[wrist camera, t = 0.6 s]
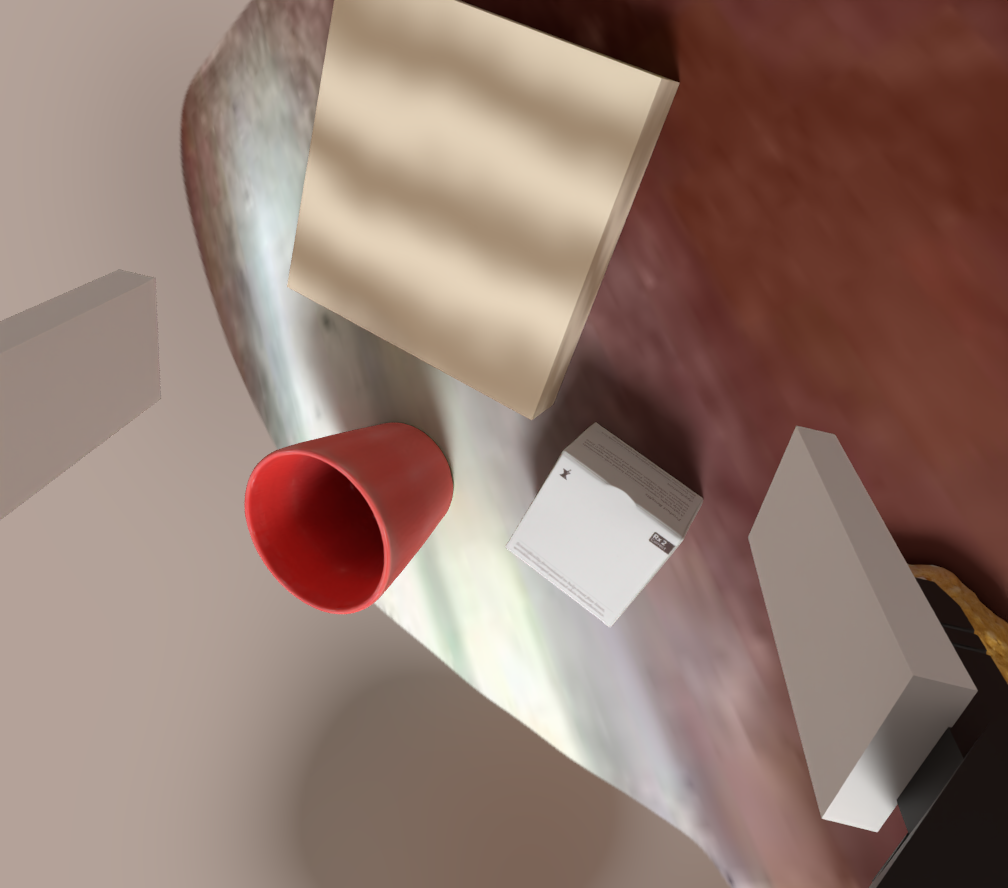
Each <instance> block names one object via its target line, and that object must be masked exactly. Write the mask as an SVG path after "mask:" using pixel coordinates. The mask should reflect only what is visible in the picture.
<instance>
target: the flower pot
mask: <svg viewBox="0 0 1008 888" xmlns="http://www.w3.org/2000/svg"><path fill="white" fill-rule="evenodd" d="M452 496H453V481H452V476H451V472H450V467H449V465H448V462H447V460H446V458H445V456H444V454H443V453H442V451H441V450H440V448H439V447H438V446H437V444H436V443H435V442H434V441H433V440H432V439H431V438H430V437H429V436H427V435H426V434H425V433H424V432H422V431H421V430H419V429H417V428H415V427H413V426H410V425H407V424H404V423H384V424H380V425H375V426H371V427H366V428H361V429H357V430H352V431H348V432H343V433H339V434H335V435H331V436H327V437H322V438H318V439H314V440H310V441H306V442H302V443H298V444H295V445H291V446H288V447H284V448H282V449H279V450H276V451H274V452H272V453H270V454H269V455H267V456H266V457H264V458H263V459H262V460H261V461H260V462H259V463H258V464H257V465H256V467H255V468H254V470H253V472H252V474H251V475H250V478H249V480H248V484H247V488H246V493H245V517H246V521H247V526H248V529H249V532H250V535H251V538H252V541H253V543H254V545H255V548H256V550H257V552H258V554H259V555H260V557H261V558H262V560H263V562H264V564H265V565H266V566H267V568H268V569H269V571H270V572H271V573H272V575H273V576H274V577H275V578H276V579H277V580H278V582H279V583H280V584H281V585H282V586H284V587H285V588H286V589H287V590H288V591H289V592H290V593H291V594H293V595H294V596H295V597H297V598H298V599H300V600H301V601H303V602H304V603H306V604H308V605H310V606H312V607H314V608H316V609H319V610H321V611H324V612H328V613H334V614H350V613H354V612H358V611H361V610H363V609H365V608H367V607H369V606H370V605H372V604H373V603H374V602H376V601H377V600H378V599H379V598H380V597H381V595H382V594H383V593H384V592H385V591H386V590H387V588H388V587H389V586H390V585H391V584H392V583H393V581H394V580H395V579H396V578H397V577H398V575H399V574H400V573H401V572H402V570H403V569H404V568H405V567H406V566H407V564H408V563H409V562H410V560H411V559H412V558H413V557H414V556H415V554H416V553H417V552H418V550H419V549H420V548H421V547H422V545H423V544H424V543H425V541H426V540H427V539H428V537H429V536H430V535H431V533H432V532H433V531H434V529H435V528H436V526H437V525H438V523H439V522H440V521H441V519H442V518H443V517H444V516H445V514H446V513H447V511H448V509H449V506H450V504H451V501H452Z"/></svg>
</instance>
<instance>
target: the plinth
mask: <svg viewBox="0 0 1008 888" xmlns="http://www.w3.org/2000/svg"><path fill="white" fill-rule="evenodd" d="M678 86H679V82H676V81H673V80H671V79H668V78H666V77H663V76H660V75H658V74H655V73H652V72H650V71H647V70H644V69H642V68H639V67H636V66H634V65H631V64H628V63H626V62H623V61H620V60H618V59H615V58H612V57H610V56H607V55H604V54H602V53H599V52H596V51H594V50H591V49H588V48H586V47H583V46H580V45H578V44H575V43H572V42H570V41H567V40H564V39H562V38H559V37H556V36H554V35H551V34H548V33H546V32H543V31H540V30H538V29H535V28H532V27H530V26H527V25H524V24H522V23H519V22H516V21H514V20H511V19H508V18H506V17H503V16H500V15H498V14H495V13H492V12H490V11H487V10H484V9H482V8H479V7H476V6H474V5H471V4H468V3H466V2H463V1H461V0H334V5H333V12H332V18H331V24H330V30H329V36H328V42H327V48H326V54H325V60H324V66H323V72H322V78H321V84H320V90H319V96H318V103H317V109H316V115H315V121H314V127H313V133H312V139H311V145H310V151H309V157H308V163H307V169H306V175H305V181H304V187H303V194H302V200H301V206H300V212H299V218H298V224H297V230H296V236H295V242H294V248H293V254H292V260H291V266H290V272H289V278H288V285H287V287H289V288H290V289H292V290H294V291H296V292H298V293H300V294H301V295H303V296H305V297H307V298H309V299H311V300H312V301H314V302H316V303H318V304H320V305H322V306H323V307H325V308H327V309H329V310H331V311H333V312H334V313H336V314H338V315H340V316H342V317H343V318H345V319H347V320H349V321H351V322H353V323H354V324H356V325H358V326H360V327H362V328H364V329H365V330H367V331H369V332H371V333H373V334H375V335H376V336H378V337H380V338H382V339H384V340H386V341H387V342H389V343H391V344H393V345H395V346H397V347H398V348H400V349H402V350H404V351H406V352H408V353H409V354H411V355H413V356H415V357H417V358H419V359H420V360H422V361H424V362H426V363H428V364H430V365H431V366H433V367H435V368H437V369H439V370H441V371H442V372H444V373H446V374H448V375H450V376H452V377H453V378H455V379H457V380H459V381H461V382H463V383H464V384H466V385H468V386H470V387H472V388H473V389H475V390H477V391H479V392H481V393H483V394H484V395H486V396H488V397H490V398H492V399H494V400H495V401H497V402H499V403H501V404H503V405H505V406H506V407H508V408H510V409H512V410H514V411H516V412H517V413H519V414H521V415H523V416H525V417H527V418H528V419H530V420H533V419H534V418H536V417H537V416H538V415H540V414H541V413H542V412H544V411H545V410H547V409H548V408H549V407H551V406H552V405H553V404H554V402H555V399H556V397H557V394H558V391H559V389H560V386H561V384H562V381H563V379H564V376H565V374H566V371H567V368H568V366H569V363H570V361H571V358H572V356H573V353H574V351H575V348H576V346H577V343H578V340H579V338H580V335H581V333H582V330H583V328H584V325H585V323H586V320H587V318H588V315H589V312H590V310H591V307H592V305H593V302H594V300H595V297H596V295H597V292H598V290H599V287H600V284H601V282H602V279H603V277H604V274H605V272H606V269H607V267H608V264H609V262H610V259H611V256H612V254H613V251H614V249H615V246H616V244H617V241H618V239H619V236H620V234H621V231H622V228H623V226H624V223H625V221H626V218H627V216H628V213H629V211H630V208H631V205H632V203H633V200H634V198H635V195H636V193H637V190H638V188H639V185H640V183H641V180H642V177H643V175H644V172H645V170H646V167H647V165H648V162H649V160H650V157H651V155H652V152H653V149H654V147H655V144H656V142H657V139H658V137H659V134H660V132H661V129H662V127H663V124H664V121H665V119H666V116H667V114H668V111H669V109H670V106H671V104H672V101H673V99H674V96H675V93H676V91H677V88H678Z"/></svg>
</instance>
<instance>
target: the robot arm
mask: <svg viewBox="0 0 1008 888" xmlns="http://www.w3.org/2000/svg"><path fill="white" fill-rule="evenodd" d="M159 369H160V368H159V346H158V323H157V302H156V279H155V278H154V277H150V276H145V275H141V274H136V273H132V272H128V271H123V270H117V271H115V272H112V273H110V274H108V275H105V276H103V277H101V278H98V279H96V280H94V281H92V282H89V283H87V284H85V285H83V286H80V287H78V288H76V289H73V290H71V291H69V292H66V293H64V294H62V295H60V296H57V297H55V298H53V299H50V300H48V301H46V302H43V303H41V304H39V305H37V306H34V307H32V308H30V309H28V310H25V311H23V312H21V313H18V314H16V315H14V316H11V317H9V318H7V319H4V320H2V321H0V520H1V519H3V518H4V517H5V516H6V515H8V514H9V513H10V512H12V511H13V510H14V509H16V508H17V507H18V506H20V505H21V504H22V503H24V502H25V501H26V500H28V499H29V498H30V497H32V496H33V495H34V494H35V493H37V492H38V491H40V490H41V489H42V488H43V487H45V486H46V485H47V484H49V483H50V482H51V481H53V480H54V479H55V478H57V477H58V476H59V475H61V474H62V473H63V472H65V471H66V470H67V469H69V468H70V467H71V466H73V465H74V464H75V463H76V462H78V461H79V460H80V459H82V458H83V457H84V456H86V455H87V454H88V453H90V452H91V451H92V450H94V449H95V448H96V447H98V446H99V445H100V444H102V443H103V442H104V441H105V440H107V439H108V438H110V437H111V436H112V435H114V434H115V433H116V432H118V431H119V430H120V429H121V428H123V427H124V426H125V425H127V424H128V423H129V422H131V421H132V420H133V419H135V418H136V417H137V416H139V415H140V414H141V413H143V412H144V411H145V410H147V409H148V408H149V407H151V406H152V405H153V404H154V403H156V402H157V401H159V400H160V399H161V391H160V370H159ZM748 539H749V543H750V547H751V550H752V554H753V558H754V562H755V566H756V570H757V573H758V577H759V581H760V585H761V589H762V593H763V596H764V600H765V604H766V608H767V612H768V616H769V619H770V623H771V627H772V631H773V635H774V638H775V642H776V646H777V650H778V654H779V658H780V661H781V665H782V669H783V673H784V677H785V681H786V684H787V688H788V692H789V696H790V700H791V703H792V707H793V711H794V715H795V719H796V723H797V726H798V730H799V734H800V738H801V742H802V746H803V749H804V753H805V757H806V761H807V765H808V768H809V772H810V776H811V780H812V784H813V788H814V791H815V795H816V799H817V803H818V807H819V811H820V814H821V818H822V819H826V820H830V821H834V822H838V823H842V824H846V825H850V826H854V827H858V828H862V829H866V830H870V831H874V832H878V831H879V829H880V828H881V826H882V825H883V824H884V822H885V821H886V819H887V818H888V817H889V815H890V814H891V812H892V811H893V810H894V808H895V807H896V805H897V804H898V806H899V808H900V811H901V814H902V816H903V819H904V822H905V825H906V827H907V830H908V833H907V835H906V836H905V837H904V839H903V840H902V841H901V843H900V844H899V845H898V847H897V848H896V849H895V851H894V852H893V853H892V855H891V856H890V857H889V859H888V860H887V862H886V863H885V864H884V866H883V867H882V868H881V870H880V871H879V872H878V874H877V875H876V876H875V878H874V879H873V880H872V881H873V882H872V884H871V885H870V887H869V888H1008V684H1007V682H1006V680H1005V679H1004V677H1003V676H1002V674H1001V672H1000V671H999V669H998V667H997V666H996V664H995V662H994V661H993V659H992V658H991V656H990V655H987V654H986V652H987V649H986V648H985V646H984V644H983V643H982V641H981V640H980V638H979V636H978V635H976V634H974V631H975V630H974V628H973V626H972V625H971V623H970V622H969V620H968V618H967V617H966V615H965V613H964V612H963V610H962V608H961V607H960V605H958V604H957V603H956V602H955V601H954V600H953V599H952V598H951V597H950V596H949V595H948V594H947V593H946V592H945V591H944V590H943V589H941V588H940V587H939V586H938V585H937V584H936V583H935V582H933V581H929V580H925V579H920V578H916V577H914V575H913V574H912V572H911V570H910V568H909V566H908V565H907V563H906V561H905V559H904V557H903V556H902V554H901V552H900V550H899V548H898V547H897V545H896V543H895V541H894V539H893V538H892V536H891V534H890V532H889V531H888V529H887V527H886V525H885V523H884V522H883V520H882V518H881V516H880V514H879V513H878V511H877V509H876V507H875V505H874V504H873V502H872V500H871V498H870V496H869V495H868V493H867V491H866V489H865V488H864V486H863V484H862V482H861V480H860V479H859V477H858V475H857V473H856V471H855V470H854V468H853V466H852V464H851V462H850V461H849V459H848V457H847V455H846V453H845V452H844V450H843V448H842V446H841V444H840V443H839V441H838V439H837V437H836V436H835V434H830V433H826V432H822V431H817V430H813V429H809V428H804V427H800V426H796V428H795V430H794V432H793V435H792V437H791V439H790V442H789V444H788V446H787V449H786V451H785V453H784V456H783V458H782V460H781V463H780V465H779V467H778V469H777V472H776V474H775V476H774V479H773V481H772V483H771V486H770V488H769V490H768V493H767V495H766V497H765V499H764V502H763V504H762V506H761V509H760V511H759V513H758V516H757V518H756V520H755V523H754V525H753V527H752V530H751V532H750V534H749V536H748Z"/></svg>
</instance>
